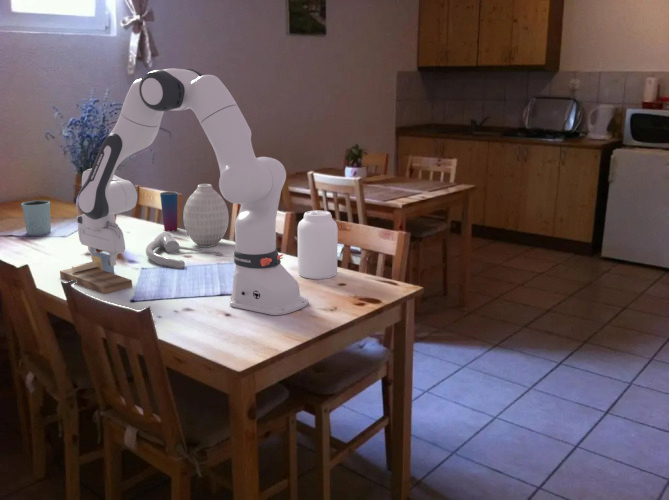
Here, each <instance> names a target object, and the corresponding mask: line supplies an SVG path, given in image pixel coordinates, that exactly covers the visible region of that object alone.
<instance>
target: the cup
mask: <svg viewBox="0 0 669 500" xmlns="http://www.w3.org/2000/svg"><path fill="white" fill-rule="evenodd" d="M178 195H179V194H178V191H162V192H160V193H159V196H160V204H161V213H162V221H163V230H164V232H175V231H177V230H178V200H179V199H178Z"/></svg>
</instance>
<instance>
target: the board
mask: <svg viewBox="0 0 669 500" xmlns="http://www.w3.org/2000/svg"><path fill="white" fill-rule="evenodd" d="M59 276H60V278H61V279H64V280H67V281H70V282H72V281H71V280H75V279H76V280H77V283H76V284H77V285H80V286H82V287H85V288H88V289H91V290H93V291H96V292H99V293H102V294H103V295H104V294H105V295H106V294H110V293H113V292H117V291H120V290H124V289H128V288H131V287H133V280H132V279H130V278H126V277H125V276H121V275H118V274H115V273H114V272H113V273H110V272H107V271H104V270H101V269H98V268H95V267H94V268H90V269H86V270H82V271H78V272H73V271H72V267H70V268H66V269H63V270H59Z"/></svg>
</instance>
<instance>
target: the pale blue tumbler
mask: <svg viewBox="0 0 669 500" xmlns="http://www.w3.org/2000/svg"><path fill="white" fill-rule="evenodd" d="M20 206H21V208H22V214H23V219H24V225H25V231H26V234H27V235H29V236H43V235H49V234H50V233H51V232H52V229H51V201H49V200H30V201H29V200H28V201H24V202H22V203H21V204H20Z"/></svg>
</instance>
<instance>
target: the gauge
mask: <svg viewBox="0 0 669 500" xmlns="http://www.w3.org/2000/svg"><path fill="white" fill-rule="evenodd" d="M108 260H110V255H109V252H106V251H103V250H101V251H98V252H97V253H93V254H92V259H91V261H90V262H86V263H81V264H77V265H73V266H71V268H72V271H73V272H78V271H82V270H86V269H90V268H94V267H95V268H98V269H101V270H104V271H107V272H110V273H113V274H114V273H115V267H114V266H110V265H109V264H108Z"/></svg>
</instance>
